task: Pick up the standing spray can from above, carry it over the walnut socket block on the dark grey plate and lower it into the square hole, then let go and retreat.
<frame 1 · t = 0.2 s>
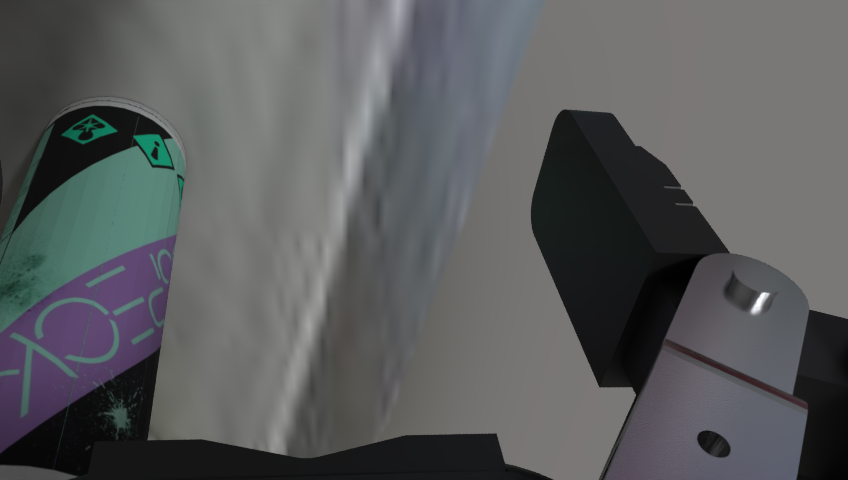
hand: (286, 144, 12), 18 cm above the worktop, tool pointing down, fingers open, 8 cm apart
spray can: (116, 153, 32), on the worktop
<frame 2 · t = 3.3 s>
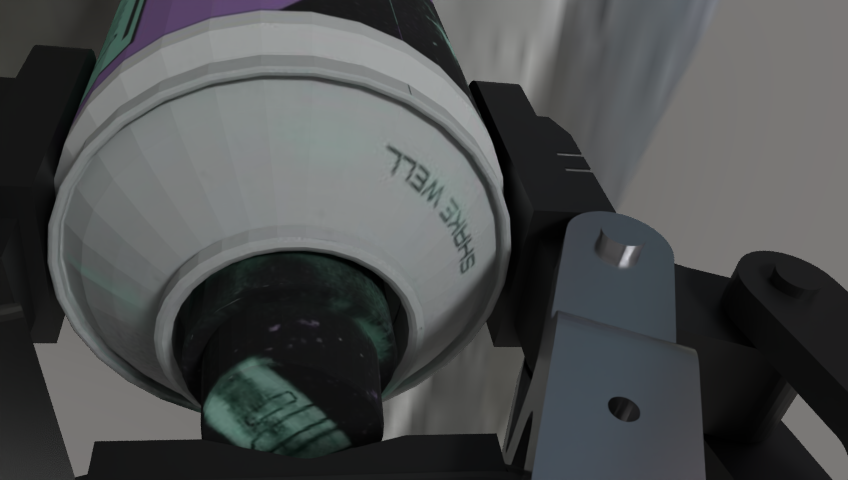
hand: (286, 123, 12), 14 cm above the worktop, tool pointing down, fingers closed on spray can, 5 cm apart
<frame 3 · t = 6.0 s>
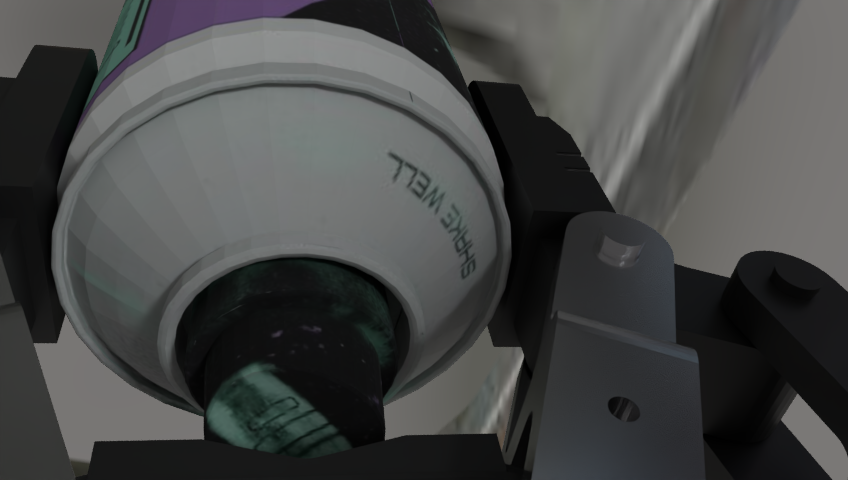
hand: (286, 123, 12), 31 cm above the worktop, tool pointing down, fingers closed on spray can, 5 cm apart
when the fingers open (16 cm above the worktop, at t = 9.1 s): spray can drops 2 cm, resting on socket block.
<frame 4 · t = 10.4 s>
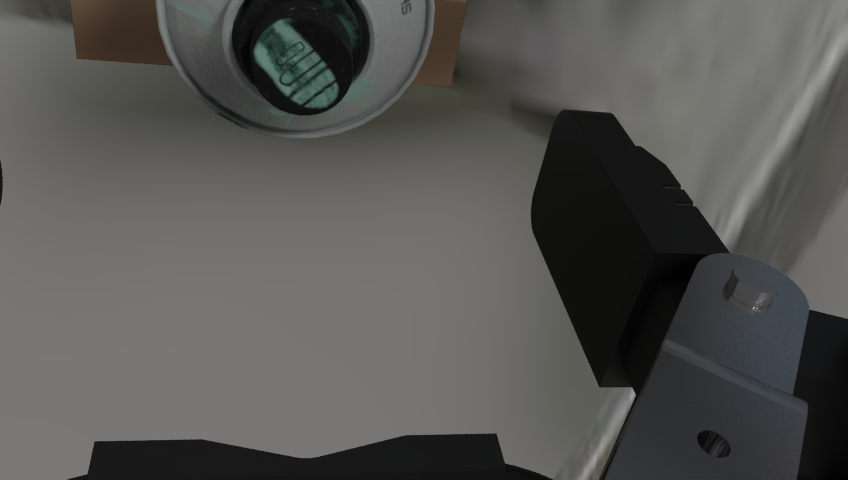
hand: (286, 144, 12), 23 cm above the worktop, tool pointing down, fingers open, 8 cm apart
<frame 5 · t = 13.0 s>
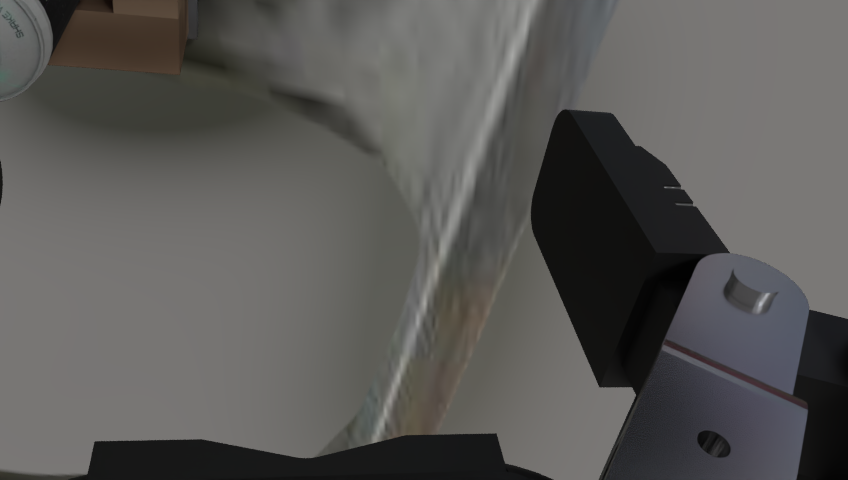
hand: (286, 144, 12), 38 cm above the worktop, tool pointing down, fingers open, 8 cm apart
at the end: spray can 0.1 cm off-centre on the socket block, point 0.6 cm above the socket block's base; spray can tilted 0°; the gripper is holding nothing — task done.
